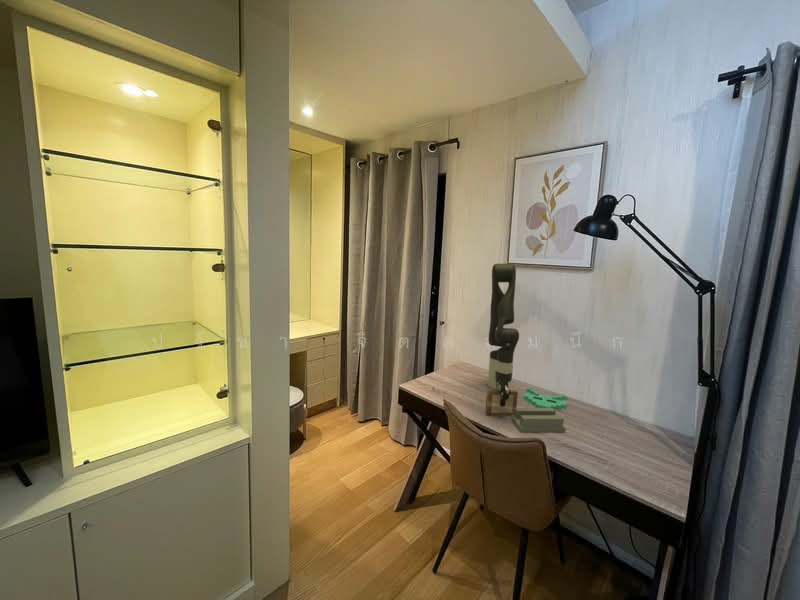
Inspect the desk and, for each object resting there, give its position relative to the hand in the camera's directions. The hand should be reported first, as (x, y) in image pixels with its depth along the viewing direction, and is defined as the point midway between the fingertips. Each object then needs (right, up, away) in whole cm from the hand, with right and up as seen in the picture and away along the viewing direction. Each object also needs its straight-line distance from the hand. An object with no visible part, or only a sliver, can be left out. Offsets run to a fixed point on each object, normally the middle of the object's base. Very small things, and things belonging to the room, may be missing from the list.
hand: (501, 404), depth 161 cm
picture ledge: (+14, -7, -8) cm, 18 cm away
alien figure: (+28, -4, +16) cm, 32 cm away
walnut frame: (0, -5, +1) cm, 5 cm away
